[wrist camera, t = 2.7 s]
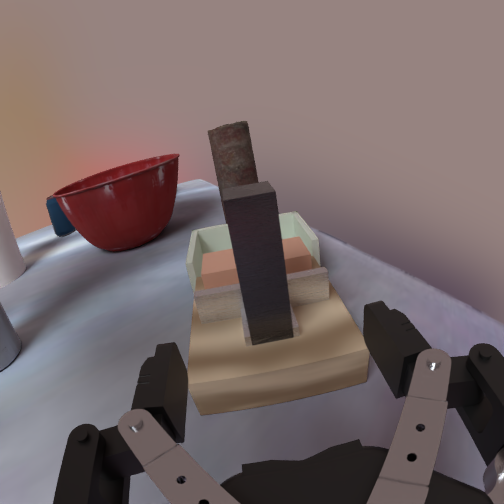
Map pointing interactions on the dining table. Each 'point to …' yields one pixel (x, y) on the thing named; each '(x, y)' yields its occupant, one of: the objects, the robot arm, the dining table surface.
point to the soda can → (58, 218)
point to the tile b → (296, 255)
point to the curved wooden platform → (275, 359)
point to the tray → (220, 240)
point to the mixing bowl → (123, 203)
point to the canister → (8, 251)
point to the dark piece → (260, 271)
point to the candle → (233, 156)
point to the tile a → (219, 269)
